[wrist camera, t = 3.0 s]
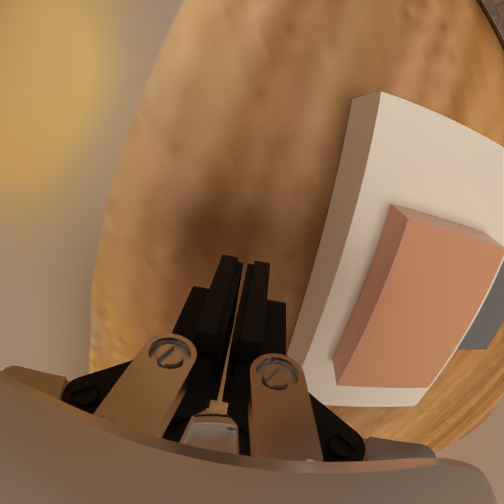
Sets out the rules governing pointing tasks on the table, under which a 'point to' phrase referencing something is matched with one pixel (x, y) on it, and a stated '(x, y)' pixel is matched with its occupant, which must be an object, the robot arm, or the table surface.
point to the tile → (415, 301)
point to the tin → (495, 15)
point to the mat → (487, 317)
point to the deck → (373, 219)
